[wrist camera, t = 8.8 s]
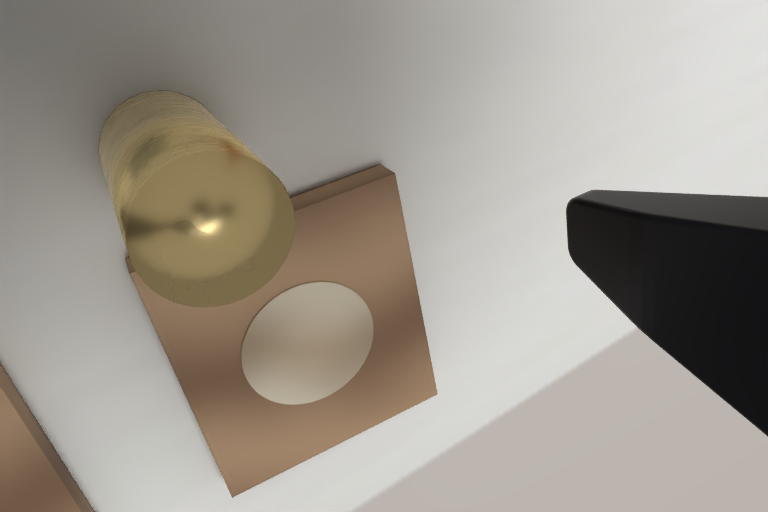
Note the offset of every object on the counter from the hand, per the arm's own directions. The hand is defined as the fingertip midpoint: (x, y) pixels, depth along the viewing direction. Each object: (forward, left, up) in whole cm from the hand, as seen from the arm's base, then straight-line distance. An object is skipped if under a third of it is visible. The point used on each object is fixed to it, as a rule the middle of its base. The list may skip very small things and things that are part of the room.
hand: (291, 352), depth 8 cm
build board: (+7, +2, -11) cm, 13 cm away
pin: (0, 0, -11) cm, 11 cm away
